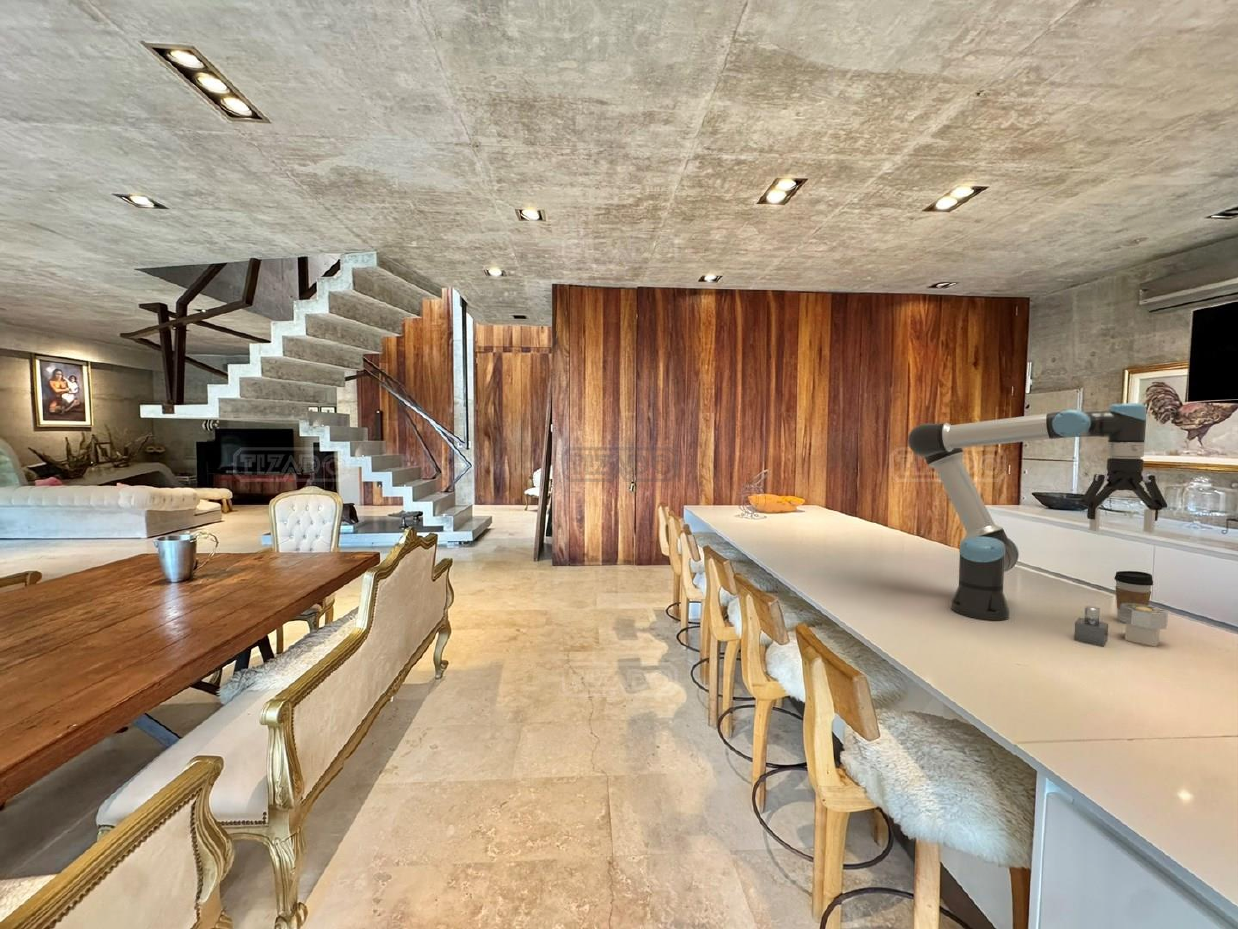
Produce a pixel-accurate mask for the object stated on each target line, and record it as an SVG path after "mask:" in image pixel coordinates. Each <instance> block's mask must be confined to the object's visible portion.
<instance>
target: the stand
mask: <svg viewBox="0 0 1238 929" xmlns="http://www.w3.org/2000/svg"><path fill="white" fill-rule="evenodd" d="M1100 613H1101V608H1099V607H1096V606H1093V605H1085V606H1084V617H1080V616H1079V617H1078V618H1077V619H1076V621H1075V622H1074V635H1073V636H1074V638H1073V640H1074V641H1077V642H1082V643H1084V644H1089V645H1090V644H1091V645H1093V646H1097V647H1098V646H1099V647H1103V648H1104V647H1105V646H1106V644H1107V643H1108V640H1109V639H1108V638H1109V623H1108V622H1103V621H1100V617H1101V616H1100Z"/></svg>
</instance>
